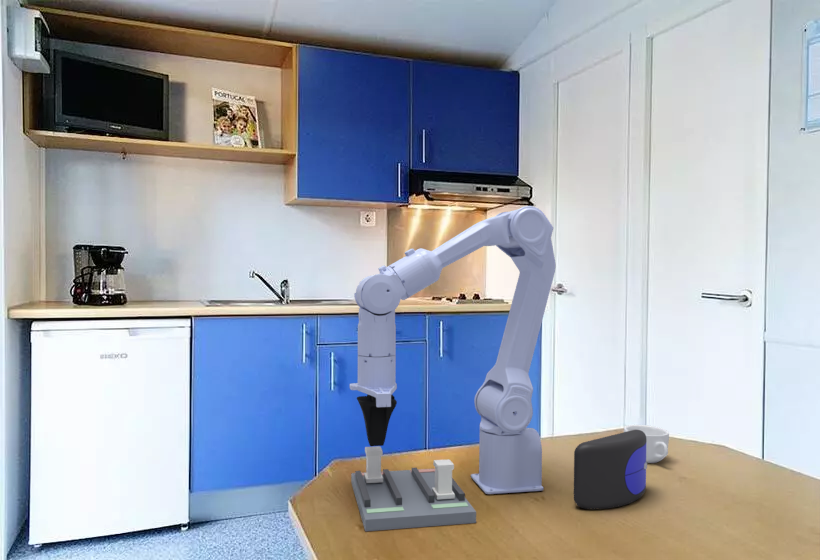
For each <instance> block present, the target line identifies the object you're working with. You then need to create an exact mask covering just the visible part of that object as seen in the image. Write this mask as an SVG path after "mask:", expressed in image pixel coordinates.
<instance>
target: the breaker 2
mask: <svg viewBox="0 0 820 560" xmlns="http://www.w3.org/2000/svg"><path fill="white" fill-rule="evenodd" d="M432 464H433V466H434V469H435V488H432V492H433V494H434V495H435V497H436V499H437V500H439V499H454V498H455V494H454V492H453V491H452V478H453V470H454V469H455V464H454V463H453V461H451V459H433V463H432Z"/></svg>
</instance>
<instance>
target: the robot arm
mask: <svg viewBox="0 0 820 560" xmlns="http://www.w3.org/2000/svg"><path fill="white" fill-rule="evenodd" d="M553 232H554V226H553V224H552V223H551V222H550V220H549V219H548V217H547V216H546V214H545V213H544V211H542V210H541V209H540V208H539V207H536V206H533V205H527V206H526V205H525V206H522V207H520V208H518V209H517V208H516V209H515V210H514V209H513V210H511V211H504V212H499V213H498V214H496V215H495V216H492V217H489V218H486V219H483V220H481V221H478V222H477V223H475V224H473V225H471V226H470V227H468V228H466V229H465V230H464V231H462V232H460V233H458V234H457V235H456V236H453V237H452V238H450V239H448V240H447V241H445V242H444V243H443V244H441V245H439V246H437V247H436V248H434V249H433V250H428V249H425V248H421V247H420V248H418V249H416V250H415V249H414V248H409V249H408V250H406V251H405V252H404V255H405V256H404V257H402V258H400V259H398V260H396V261H395V262H393V263H391V264H389V265H388V266H386V265H381V266H380V267H379V268H378V272H379V273H376V274H373V275H368V276H365V277H364V278H363V279H362V280H361V281H359V283H358V285H357V286H356V290H355V292H354V293H353V294H354V300H355V303H356V304H357V306H358V307H359V308H358V324H357V382H356V383H355V382H353V383H349V389H350V391H358V392H361V393H363V394H366V395H361V396H357V397H356V400H357V401H358V405H359V407H360V409H361V413H362V416H363V420H364V421H363V422H364V424H365V431H366V433H365V434H366V437H367V442H368V445H369V447H377V446H380V447H382V446H384V445H385V443H386V438H387V432H388V428H389V423H390V419H391V416H392V415H393V412H394V410H395V408H396V406H397V403H398V400H396V398H395V396H394V393H395V391H396V390H397V389H398V386H397V385H398V384H397V383H396V375H397V374H396V373H397V372H396V369H397V368H396V366H397V365H396V359H397V358H396V357H397V356H396V355H397V354H396V353H397V352H396V349H397V348H396V347H397V346H396V343H397V341H396V337H397V335H396V331H397V330H396V329H397V328H396V309H397V308H398V306H400V302H401V301H406V300H407V299H409V298H411V297H412V296H414V295H416V294H418V293H419V292H421V291H422V290H425V288H428V287H429V286H431V285H433V284H434V283H436V282H439V279H440V277H441V274H442V271H443V269H444V268H445V267H448V266H450V265H451V264H453V263H456V262H457V261H459V260H460V259H462V258H464V257H467V256H468V255H470V254H472V253H474V252H476V251H478V250H480V249H482V248H483V247H492V246H493V247H495V246H496V247H497V248H498V249H499V250H501V251H502V252H503V253H504V254H506V255H507V256H508V257H509V258H510V259H511V261H512V262H513V264H514V265H515V266H516V268H517V269H518V271H519V274H518V278H517V282H516V286H515V290H514V293H513V297H512V302H511V304H510V307H509V308H510V309H509V313H508V315H507V320H506V324H505V327H504V331H503V334H502V335H503V336H502V338H501V343H500V346H499V348H498V349H499V350H498V353H497V354H498V355H497V357H496V362H495V364H494V365H493V367H492V368H491V369H490V370H489V371H488V372H487V373H486V376H485V379H484V381H483V383H482V385H480V387H479V388H478V390H477V391H476V394H475V395H474V400H473V401H474V408H475V410H476V412H477V414H478V415H479V416H480V423H479V443H478V446H479V449H478V450H479V453H478V454H479V456H478V457H479V458H478V459H479V460H478V462H479V465H478V467H479V468H478V473H471V474H470V478H471V479H472V480H473V481H474V482H475V483H476V485H478V487H479V488H480V489H481V490H482V491H483V493H485V494H487V495H494V494H495V495H496V494H497V495H498V494H508V493H509V494H510V493H525V492H540V491H541V492H542V491H544V486H542V483H543V482H542V479H543V477H542V475H543V473H542V472H543V471H542V469H543V464H542V463H543V447H542V446H543V445H542V441H541V437H540V435H539V432H538V430H536V429H535V428H533V427H528V426H529V425H530V423H531V422H532V420H533V416H534V408H533V403H532V398H533V392H534V386H533V384H532V381H531V378H530V375H529V373H530V368H531V365H532V361H533V358H534V357H533V356H534V354H535V350H536V346H537V342H538V338H539V334H540V330H541V326H542V322H543V318H544V314H545V311H546V308H547V303H548V300H549V295H550V293H551V289H552V285H553V280H554V277H555V273H556V267H557V266H556V259H555V257H556V256H555V253H554V248H553V242H552V234H553Z"/></svg>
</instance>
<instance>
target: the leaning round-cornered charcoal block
mask: <svg viewBox="0 0 820 560" xmlns="http://www.w3.org/2000/svg"><path fill="white" fill-rule="evenodd" d="M647 469H648V463H647V462H646V435H645V433H644V432H643V431H641V430H631V431H627V432H624V431H623V432H619V433H615V434H611V435H608V436H603V437H599V438H595V439H590V440H588V441H585V442H581V443H579V444H578V445H577V446H576V447H575V449H574V453H573V501H574V503H575V505H576V506H577V507H579V508H581V509H585V510H605V509H613V508H619V507H622V506H627V505H629V504H631V503H634V502H636V501H637V500H640V499H641V498H642V496H644V494H645V492H646V488H647V482H646V481H647Z"/></svg>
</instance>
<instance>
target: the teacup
mask: <svg viewBox="0 0 820 560" xmlns="http://www.w3.org/2000/svg"><path fill="white" fill-rule="evenodd" d="M631 430H641V431H643V432H644V433H645V435H646V462H647V464H656V463H659V462H661V461H662V460H663V459H664V458H666V457H667V456H668V454H669V441H670V433H669V431H668V430H666V429H664V428H662V427H658V426H654V425H646V424H628V425H625V426H624V427H623V432H627V431H631Z"/></svg>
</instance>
